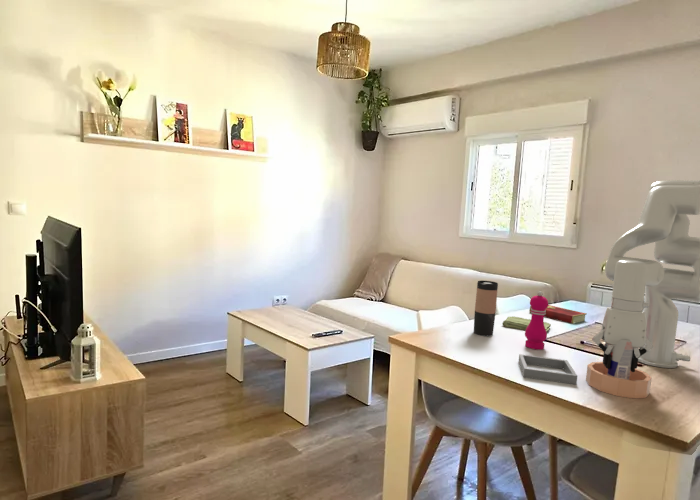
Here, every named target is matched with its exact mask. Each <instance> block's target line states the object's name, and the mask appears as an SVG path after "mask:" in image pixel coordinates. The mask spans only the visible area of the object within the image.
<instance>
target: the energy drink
mask: <svg viewBox="0 0 700 500" xmlns="http://www.w3.org/2000/svg"><path fill="white" fill-rule="evenodd" d="M632 353H633V347H632V343H631V341H630V340H625V339H621V340H620V341H618V344H617V345H614V346H613V348H612V350H611V352H610V355H611V365H610V368H609V369H608V373H607V375H608V376H612V377H616V378H620V379H627V380H629V378H630V370H631V362H632Z"/></svg>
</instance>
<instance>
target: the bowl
mask: <svg viewBox="0 0 700 500" xmlns="http://www.w3.org/2000/svg"><path fill="white" fill-rule="evenodd" d="M607 373H608V369H607V368H606V367H605V366H604V364H603V361H592V362H590V363H588V364H587V368H586V373H585V374H586V375H585V381H586V383H587V384H588V386H590V387H592V388H593V389H596V390H597V391H600V392H603V393H606V394H609V395H612V396H616V397H622V398H628V399H643V398H647V397H648V396H649V395H650V394H651V385H652V376H651V375H649V374H648V373H647V372H645V371H642V370H641V369H639V368H637V369H636V368H635V372H632V371H631V370H630V378H629V380H627V379H620V378H616V377H612V376H608V375H607Z"/></svg>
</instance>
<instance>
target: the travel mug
mask: <svg viewBox="0 0 700 500" xmlns="http://www.w3.org/2000/svg"><path fill="white" fill-rule="evenodd" d="M498 285H499V283H498V282H497V281H492V280H477V283H476V295H475V304H474V305H475V306H474V315H473V316H474V319H473V333H474V334H475V335H476V336H477V335H478V336H483V337H492V336H493V335H494V329H495V319H496V311H497V300H498V289H499V288H498V287H499V286H498Z"/></svg>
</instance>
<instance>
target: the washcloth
mask: <svg viewBox="0 0 700 500" xmlns="http://www.w3.org/2000/svg"><path fill="white" fill-rule="evenodd" d="M530 321H531V318H528V319H527V318H524V317H518V316H507V318H506V319H504V320H503V322H502V326H503V327H504V328H508V329H509V328H510V329H516V330H522V331H526V328H527V327H528V325H529V323H530ZM543 322H544V327H545V329H546V333H547V332H548V331H549V329H550V327H551V323H549V322H546V321H543Z"/></svg>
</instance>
